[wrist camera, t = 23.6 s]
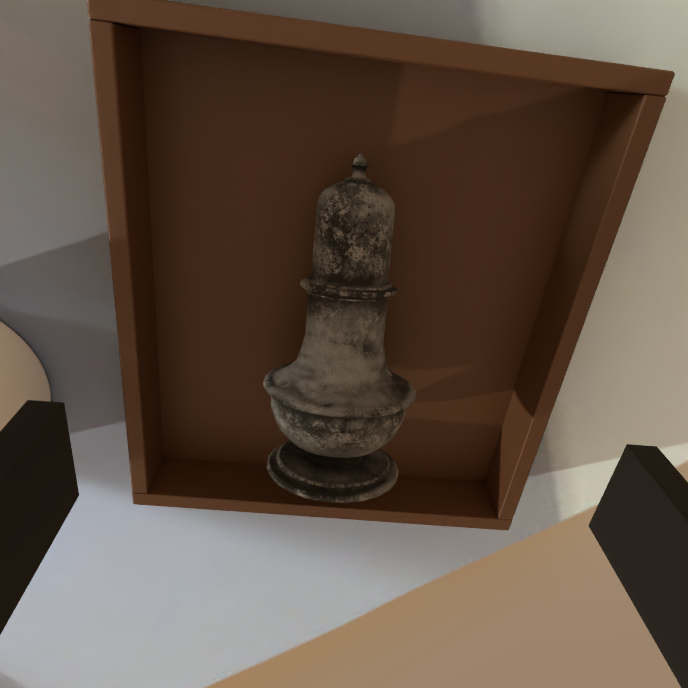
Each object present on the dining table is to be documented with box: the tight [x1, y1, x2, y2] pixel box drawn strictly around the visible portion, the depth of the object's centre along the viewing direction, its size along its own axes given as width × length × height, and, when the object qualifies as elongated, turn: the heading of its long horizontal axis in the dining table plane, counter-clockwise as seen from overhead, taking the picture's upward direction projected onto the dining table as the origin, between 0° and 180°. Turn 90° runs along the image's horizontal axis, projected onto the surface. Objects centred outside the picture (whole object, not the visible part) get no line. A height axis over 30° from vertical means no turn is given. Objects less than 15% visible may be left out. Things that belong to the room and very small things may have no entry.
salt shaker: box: [263, 153, 416, 503], centre depth 20 cm, size 6×6×12 cm
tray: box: [87, 0, 675, 530], centre depth 21 cm, size 19×17×3 cm
